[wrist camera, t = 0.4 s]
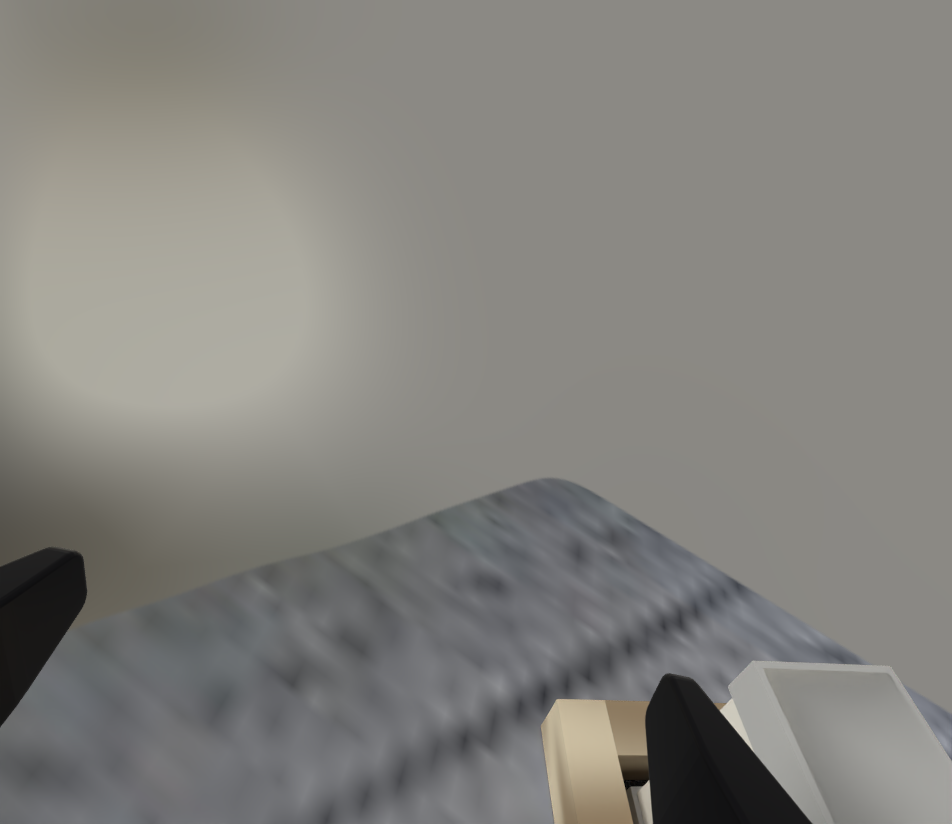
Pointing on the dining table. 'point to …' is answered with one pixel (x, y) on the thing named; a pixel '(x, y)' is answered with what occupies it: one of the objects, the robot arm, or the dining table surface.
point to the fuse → (837, 744)
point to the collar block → (594, 758)
